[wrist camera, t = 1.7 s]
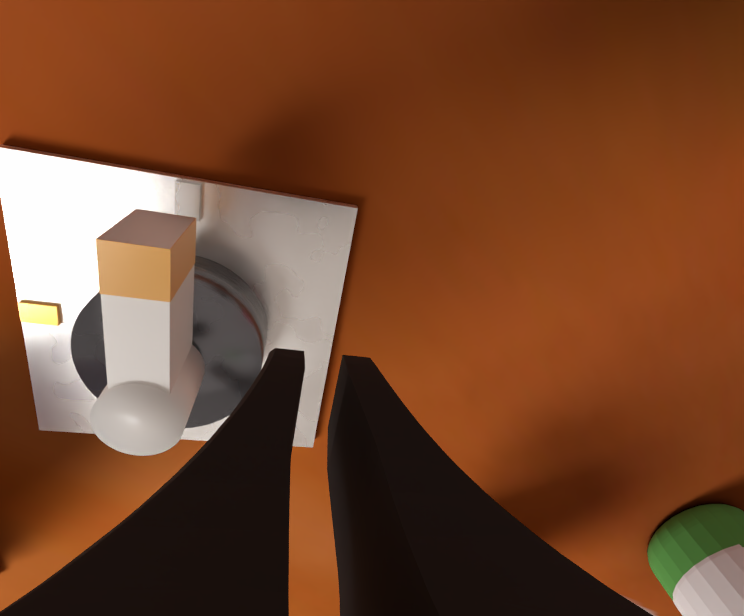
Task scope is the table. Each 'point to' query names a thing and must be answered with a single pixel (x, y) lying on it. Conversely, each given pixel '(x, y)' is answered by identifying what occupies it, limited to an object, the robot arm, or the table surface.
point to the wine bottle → (702, 560)
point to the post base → (211, 280)
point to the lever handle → (147, 332)
